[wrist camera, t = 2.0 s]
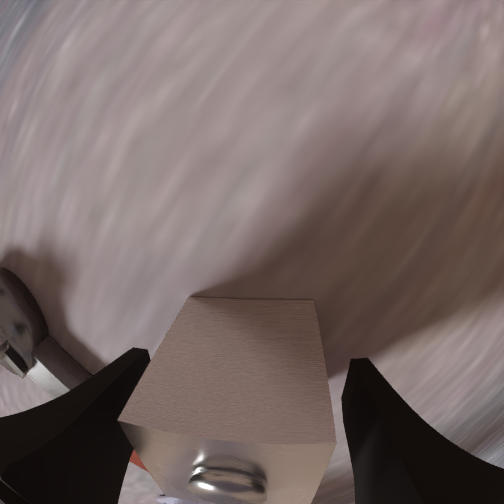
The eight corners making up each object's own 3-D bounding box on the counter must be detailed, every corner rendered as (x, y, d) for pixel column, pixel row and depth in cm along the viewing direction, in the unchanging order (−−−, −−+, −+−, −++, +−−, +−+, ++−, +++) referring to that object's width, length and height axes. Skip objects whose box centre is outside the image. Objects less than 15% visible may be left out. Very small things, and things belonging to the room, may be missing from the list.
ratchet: (224, 448, 14) (209, 521, 9) (172, 467, 16) (153, 523, 11) (-5, 246, 11) (-70, 283, 6) (-15, 305, 13) (-61, 341, 8)
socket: (313, 300, 10) (338, 458, 4) (304, 388, 12) (308, 519, 6) (188, 296, 11) (110, 432, 5) (202, 383, 12) (163, 504, 6)
